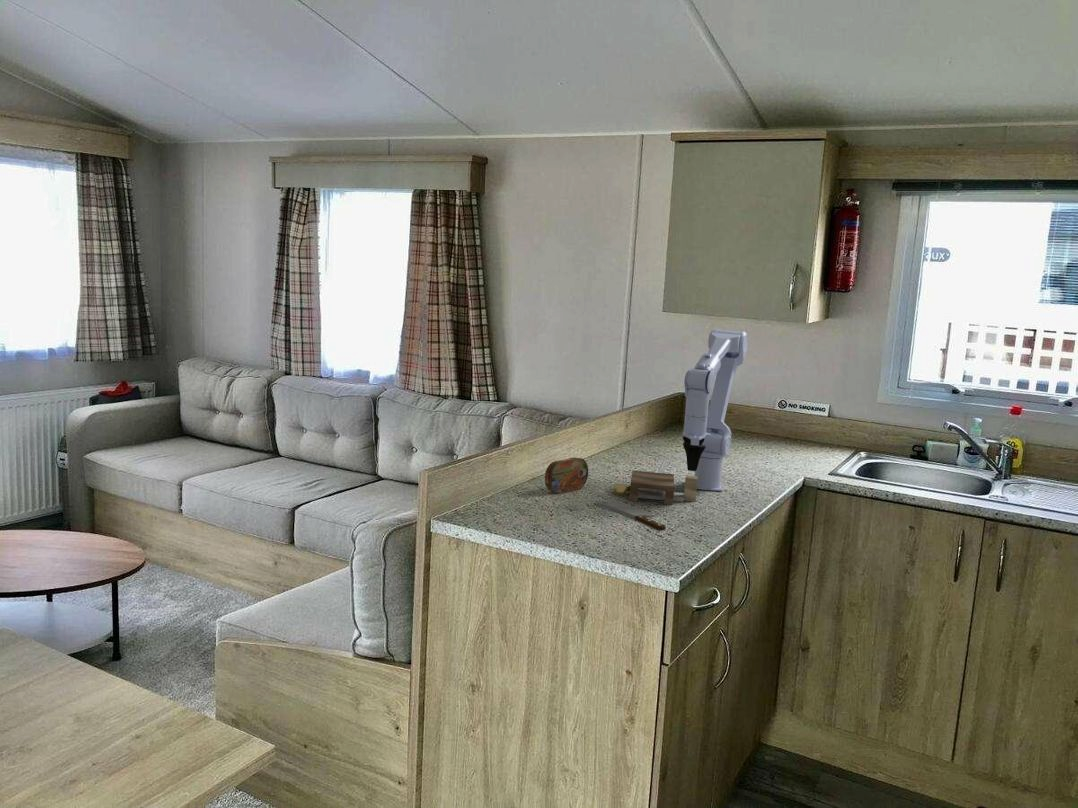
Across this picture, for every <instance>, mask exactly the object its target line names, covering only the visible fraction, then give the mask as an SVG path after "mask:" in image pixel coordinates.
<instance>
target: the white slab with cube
mask: <svg viewBox="0 0 1078 808" xmlns="http://www.w3.org/2000/svg"><path fill="white" fill-rule="evenodd" d="M684 480H685V481H684V491H683V492H675V491H674V496H673V502H679V501H680V503H681V502H683V503H685V501H686V502H695V501H697V493H698V491H697V490H698V489H697V482H698V477H697V476H694V475H688V474H686V475H685V479H684ZM665 493H666V492H665V491H664V490H654V489H643V488H639V489H638V497H637V499H638V498H639V499H646V500H647V499H649V500H658V501H659V500H661V501H665ZM684 500H685V501H684Z"/></svg>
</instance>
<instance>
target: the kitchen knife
mask: <svg viewBox="0 0 1078 808" xmlns="http://www.w3.org/2000/svg"><path fill="white" fill-rule="evenodd" d="M596 506H597V507H601V508H605V509H608V510H612V511H614V512H617V513H619V514H622V515H624V516H627V517H629V518H631V519H634V520H635V521H638V522H640V523H642V524H644V525H646V526H649V527H651V528H653V529H655V530H658V531H665V530H666V525H665V524H663V523H660V522H657V521H655V520H653V519H650V518H653V517H657V515H656V514H653V513H651V512H649V511H646V510H644V509H641V508H639V507H636V506H633V505H630V504H627V503H624V502H621V501H619V500H596Z"/></svg>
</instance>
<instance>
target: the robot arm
mask: <svg viewBox="0 0 1078 808" xmlns="http://www.w3.org/2000/svg"><path fill="white" fill-rule="evenodd" d="M707 342H708V352H707V353H704V354H702V355H701V356H700V358H699V360H698V361H697V363H696V364H695V366H694V367H693V368H690V369H688V370H687V371H686V373H685V376H684V381H683V382H684V385H683V387H684V397H685V398H686V399H685V400H686V401H685V411H684V421H683V422H684V424H683V431H682V435H683V436H682V439H683V442H682V445H683V448H684V452H685V456H686V466H687V467H686V468H687V471H688V472H694V474H693V476H697V477H698V482H697V490H703V491H713V492H714V491H715V492H723V486H722V484H721V482H722V481H721V480H722V470H723V462H724V461H723V460H724V458H725V457H727V456H728V454H729V453H730V451H731V445H732V441H731V440H732V435H733V433H732V431H731V428H730V427H729V426H728V425H727V424H726V423H725V418H726V413H727V409H728V404H729V399H730V396H731V393H732V392H731V391H732V388H733V383H734V378H735V375H736V371H737V368H738V367H739V366H740V365H743V364H744V362H745V359H746V355H747V351H748V346H749V344H748V343H749V335H748V333H747V332H746V331H737V330H736V331H735V330H725V329H724V330H723V329H717V328H713V329H712V330H711V331H710V332H709V336H708V340H707ZM710 393H711V394H710ZM710 395H711V399H710Z"/></svg>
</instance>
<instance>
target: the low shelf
mask: <svg viewBox="0 0 1078 808" xmlns="http://www.w3.org/2000/svg"><path fill="white" fill-rule="evenodd" d="M638 489H643V490H654V491H665V492H666V493H665V500H664V505H671V506H672V505H673V504H674V501H673V496H674V492H675V474H674V473H663V472H655V471H654V472H652V471H641V470H632V471H631V477H630V495H629V499H628V500H629V502H638V498H637V497H638Z"/></svg>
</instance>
